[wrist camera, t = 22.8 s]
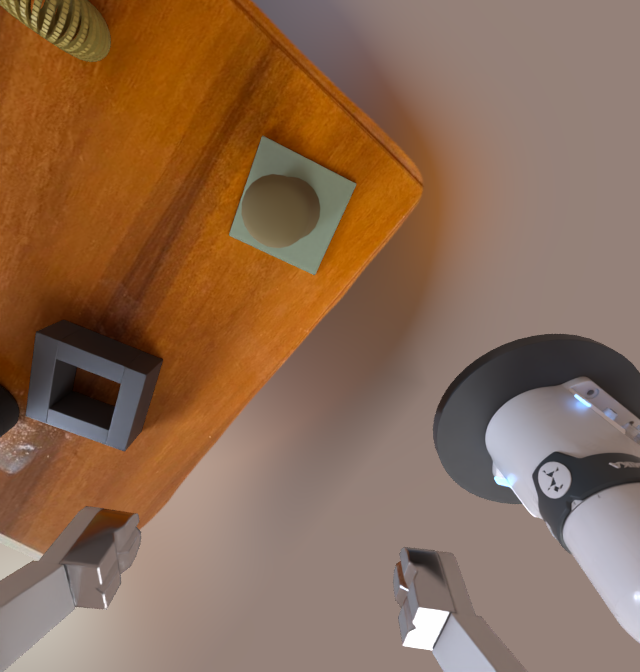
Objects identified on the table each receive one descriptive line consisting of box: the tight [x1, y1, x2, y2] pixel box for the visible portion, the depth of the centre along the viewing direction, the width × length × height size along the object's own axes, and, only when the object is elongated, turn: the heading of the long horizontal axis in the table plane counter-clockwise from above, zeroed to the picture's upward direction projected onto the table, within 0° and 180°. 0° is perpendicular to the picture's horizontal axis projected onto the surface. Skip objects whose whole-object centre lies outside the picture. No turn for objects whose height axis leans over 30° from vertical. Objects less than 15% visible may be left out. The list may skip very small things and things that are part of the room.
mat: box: [229, 136, 356, 275], centre depth 33 cm, size 10×10×1 cm
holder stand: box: [26, 320, 163, 451], centre depth 40 cm, size 12×12×4 cm
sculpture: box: [0, 0, 111, 62], centre depth 25 cm, size 8×4×8 cm, turn 54°
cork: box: [241, 174, 320, 248], centre depth 28 cm, size 6×6×11 cm
